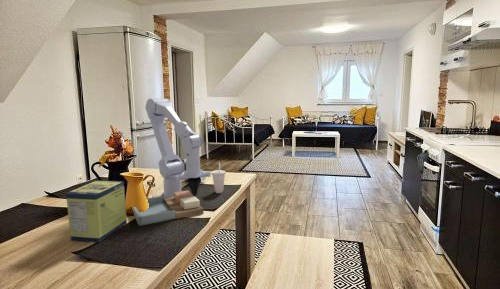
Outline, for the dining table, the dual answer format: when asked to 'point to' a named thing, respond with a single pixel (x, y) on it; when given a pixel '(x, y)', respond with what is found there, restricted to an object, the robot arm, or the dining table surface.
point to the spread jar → (200, 171)
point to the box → (154, 212)
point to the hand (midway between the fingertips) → (194, 195)
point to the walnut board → (181, 208)
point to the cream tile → (189, 202)
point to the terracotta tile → (182, 195)
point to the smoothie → (218, 180)
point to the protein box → (96, 210)
